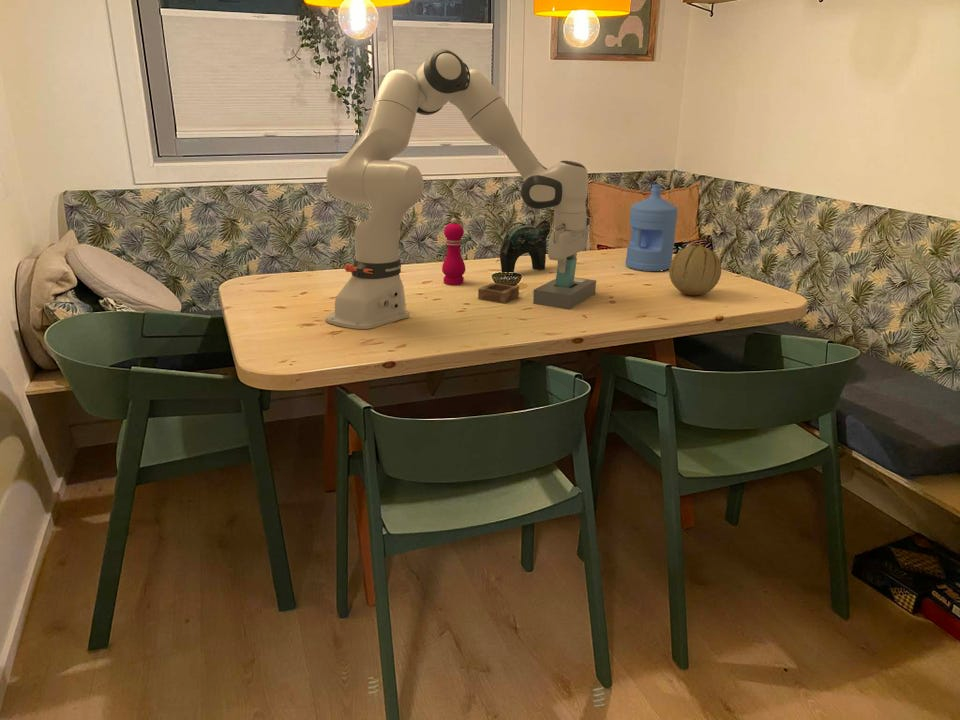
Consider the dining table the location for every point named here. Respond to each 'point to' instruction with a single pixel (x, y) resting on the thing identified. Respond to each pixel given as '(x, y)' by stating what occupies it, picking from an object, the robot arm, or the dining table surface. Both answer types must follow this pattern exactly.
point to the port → (564, 293)
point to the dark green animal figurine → (525, 244)
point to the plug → (566, 273)
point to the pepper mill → (453, 254)
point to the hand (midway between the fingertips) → (566, 270)
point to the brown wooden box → (498, 292)
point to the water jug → (652, 233)
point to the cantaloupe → (695, 270)
